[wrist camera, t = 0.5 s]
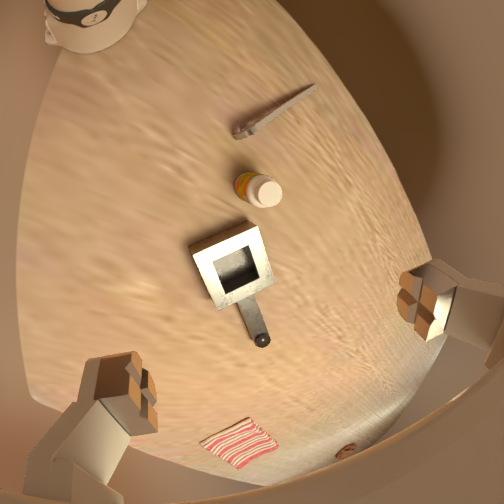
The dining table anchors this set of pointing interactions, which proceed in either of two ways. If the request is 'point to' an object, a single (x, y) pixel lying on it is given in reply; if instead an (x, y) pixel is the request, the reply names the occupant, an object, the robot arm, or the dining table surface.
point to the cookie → (346, 451)
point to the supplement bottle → (258, 189)
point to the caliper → (272, 114)
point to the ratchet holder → (236, 273)
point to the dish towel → (240, 443)
